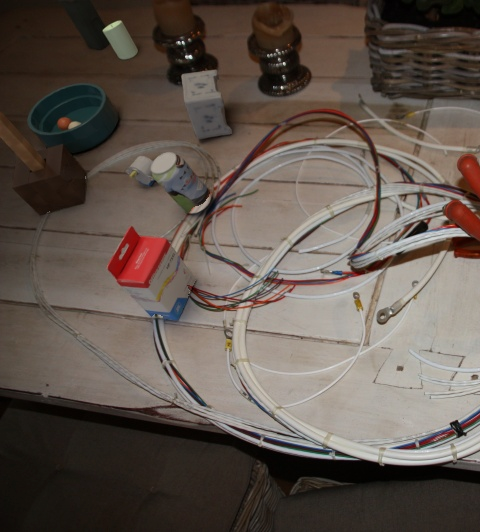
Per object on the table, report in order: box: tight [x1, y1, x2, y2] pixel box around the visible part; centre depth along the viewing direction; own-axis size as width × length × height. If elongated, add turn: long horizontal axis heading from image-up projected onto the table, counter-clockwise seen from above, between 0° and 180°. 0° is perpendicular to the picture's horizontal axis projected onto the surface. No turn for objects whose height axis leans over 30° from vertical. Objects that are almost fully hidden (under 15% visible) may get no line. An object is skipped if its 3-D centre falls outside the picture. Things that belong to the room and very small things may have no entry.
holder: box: [11, 144, 87, 216], centre depth 105 cm, size 9×9×8 cm
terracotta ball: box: [57, 117, 72, 131], centre depth 118 cm, size 3×3×3 cm
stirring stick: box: [0, 110, 46, 172], centre depth 97 cm, size 2×2×28 cm
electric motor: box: [124, 155, 156, 187], centre depth 106 cm, size 7×5×5 cm
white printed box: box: [181, 69, 233, 140], centre depth 112 cm, size 10×8×10 cm
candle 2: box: [103, 20, 139, 60], centre depth 131 cm, size 5×5×8 cm
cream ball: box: [68, 122, 81, 129], centre depth 116 cm, size 3×3×3 cm
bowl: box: [26, 82, 119, 154], centre depth 117 cm, size 16×16×6 cm
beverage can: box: [151, 151, 211, 214], centre depth 98 cm, size 6×7×12 cm
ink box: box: [106, 225, 197, 321], centre depth 86 cm, size 8×5×15 cm, turn 170°
